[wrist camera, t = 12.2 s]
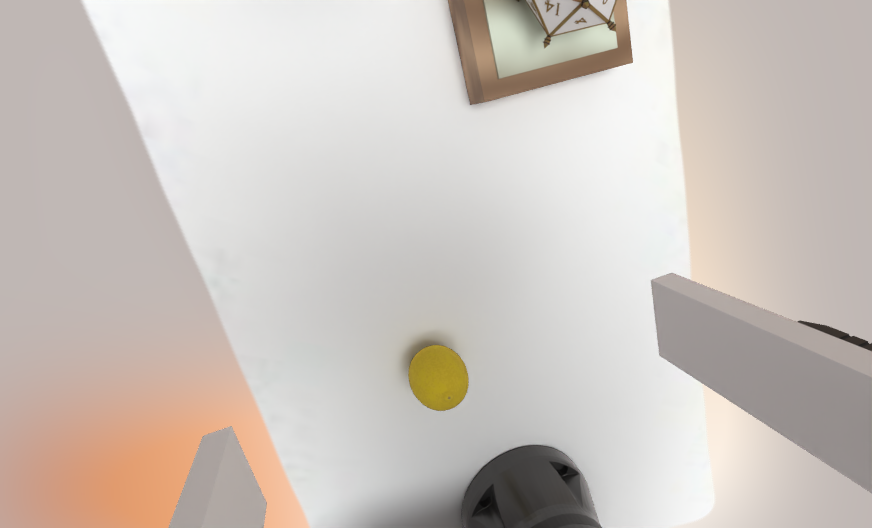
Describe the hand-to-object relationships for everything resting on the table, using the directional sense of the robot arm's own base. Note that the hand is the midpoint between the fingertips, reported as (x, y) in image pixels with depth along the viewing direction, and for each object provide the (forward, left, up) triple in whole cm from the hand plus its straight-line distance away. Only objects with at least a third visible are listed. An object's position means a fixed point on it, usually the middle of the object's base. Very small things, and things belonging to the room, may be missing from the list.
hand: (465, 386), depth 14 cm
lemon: (-16, -2, -32) cm, 36 cm away
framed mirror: (+14, -19, -32) cm, 40 cm away
